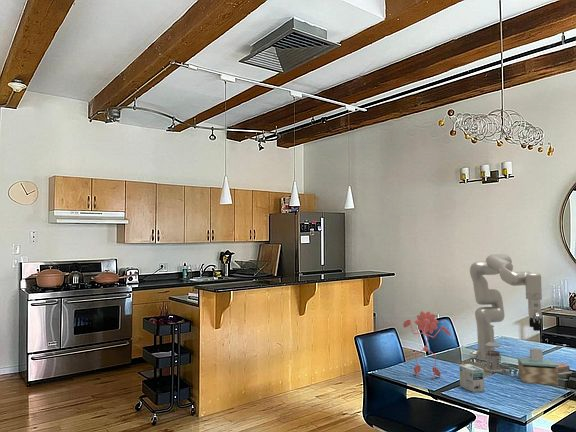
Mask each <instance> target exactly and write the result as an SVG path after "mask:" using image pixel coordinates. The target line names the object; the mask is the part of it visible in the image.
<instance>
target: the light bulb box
mask: <svg viewBox="0 0 576 432" xmlns="http://www.w3.org/2000/svg"><path fill="white" fill-rule="evenodd" d="M458 367H459V386H460V387H462V388H463V389H466V390H468V391H470V392H472V393H479V392H484V391H486V390H485V369H484V368H482V367H478V366H475V365H474V364H472V363H466V364H459V366H458Z"/></svg>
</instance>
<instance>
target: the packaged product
mask: <svg viewBox="0 0 576 432" xmlns="http://www.w3.org/2000/svg"><path fill="white" fill-rule="evenodd" d="M555 363H556V364H557V365H558V367H556V368H557V369H558V376H564V375H572V373H573V374H574V372H573V371H572V370H571V368H570V365H568V364H566V363H563V362H555Z"/></svg>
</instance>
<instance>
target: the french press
mask: <svg viewBox="0 0 576 432" xmlns="http://www.w3.org/2000/svg"><path fill="white" fill-rule="evenodd" d="M490 327H493V329H494V327H495V326H494V325H493V324H491V326H490ZM493 329H492V341H493ZM485 345H486V346H488V347H494V348H500V347H501V345H500V344H499V343H498V342H495V341H494V342H488V343H486V344H485ZM486 352H487V353H486V360H487V361H485V367H484V368H483V369H484V371H485V370H486V371H488V372H496V373H499V372H503V371H504V369H503V368H502V364H501V363H502V361H501V360H502V359H501V352H500V351H498V350H495V351H492V349H491V350H489V349H488V351H486ZM491 357H492V358H491ZM490 359H492V360H490Z"/></svg>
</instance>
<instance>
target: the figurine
mask: <svg viewBox="0 0 576 432" xmlns="http://www.w3.org/2000/svg"><path fill="white" fill-rule="evenodd" d="M416 318H417V320H415V321H414V323H415V324H416V325H417V330H418V331H421V332H414V329H413V325H412V320H411V319H410V318H409V319H406V320H405V321H404V322H403V325H402V326H403V328H407V327H409V326H410V329H411V332H412V334H413V335H424V336H425V337H426V338H427V339H426V343H425V346H424V347H422V348H423V349H422V350H420V351H418V352H416V353H415V361H416V365H414V367H413V372H414V374H415V376H416V378H418V374H419V373H420V372H421V371H422V370H421V369H422V368H421V366H420V364H418V359H417V354H419V353H420V352H421V353H422V351H424V352H430V353H431V354H432V355H434V365H436V362H437V361H436V359H437V355H436V354H435V353H433V352H432V351H431V350H430V349H429V347H428V342H429V339H430V338H429V337H431V338H432V339H434V338H435V337H436V336H437V335H438V334H439V332H440V331H443V332H444V333H445V334H446V335H448V336H449V337H451V332H450V331H449V329H448V328H446V327H445V326H443V325H441V327H439V329H438V324H439V320H437V318H436V313H431V311H429V310H428V311H426V312H424V311H423V310H421V311H420V313H419V314H417V315H416ZM434 330H438V331H437V332H436V333H435V334H434V335H432V334H433V333H434ZM428 333H429V334H428ZM430 334H431V335H430ZM431 369H432V373H433V378H432V379H434V380H435V375H436V376H438V377H439V378H440V377H441V371H440V370H439V369H438V368H437V367H436V366H432V368H431Z"/></svg>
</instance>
